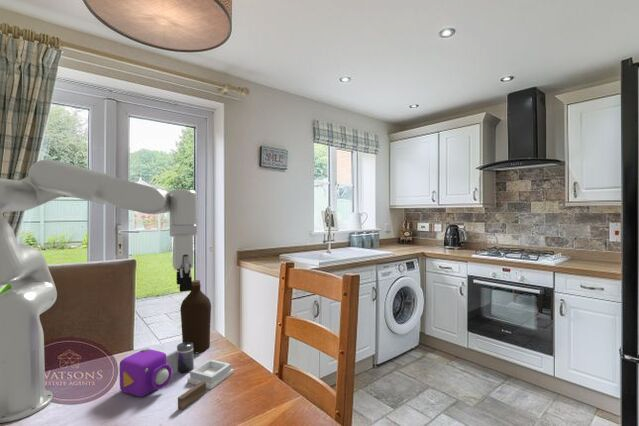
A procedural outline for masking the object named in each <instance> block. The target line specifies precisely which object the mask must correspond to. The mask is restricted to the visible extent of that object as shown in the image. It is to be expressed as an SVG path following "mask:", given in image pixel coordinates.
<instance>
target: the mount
mask: <svg viewBox="0 0 639 426" xmlns="http://www.w3.org/2000/svg"><path fill="white" fill-rule="evenodd" d="M232 374H234V369H233V368H232V364H231V363H228V362H224V361H221V360H215V359H212V358H209V359H207V361H205V362H202V364H200V365H198V366H197V367H195V368H193V370H192V371H190V372H189V376H190V377H189V378H187V384H192V385H194V386H195V385H197V384H198V383H200V382H201V381H203V382H206V389H208V390H212V389H214V388H215V387H216V386H217V385H219V384H220V383H221V382H223V381H224V380H225V379H226V378H229V377H230V376H231V375H232Z"/></svg>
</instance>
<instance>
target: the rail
mask: <svg viewBox="0 0 639 426" xmlns="http://www.w3.org/2000/svg"><path fill="white" fill-rule="evenodd" d="M206 393H207V388H206V382H203V381H201V382H200V383H198V384H197V385H195V384H194V386H192V387H191V388H189V389H188V390H187V391H185V392H184V393H183V394H181V395H180V396H178V397H177V410H179V411H184V410H185V409H186V408H188V407H189V406H190V405H191V404H193V403H194V402H196V401H197V400H199V399H200V398H201V397H202V396H204V395H205V394H206Z"/></svg>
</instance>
